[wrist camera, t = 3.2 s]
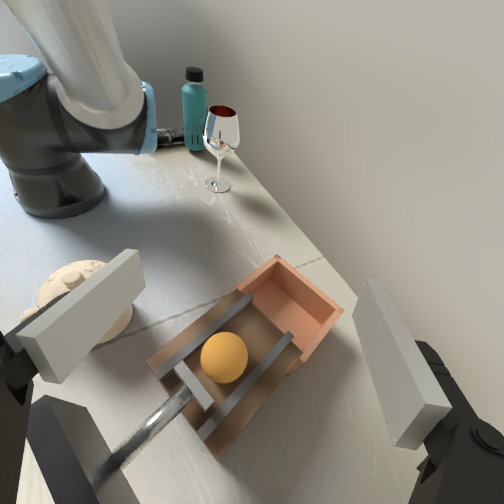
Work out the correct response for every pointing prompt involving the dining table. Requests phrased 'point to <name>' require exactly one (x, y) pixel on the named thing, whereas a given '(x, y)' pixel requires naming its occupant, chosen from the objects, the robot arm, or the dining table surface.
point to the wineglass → (220, 140)
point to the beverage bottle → (194, 109)
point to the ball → (224, 357)
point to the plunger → (97, 445)
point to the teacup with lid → (68, 281)
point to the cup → (292, 304)
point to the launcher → (240, 390)
